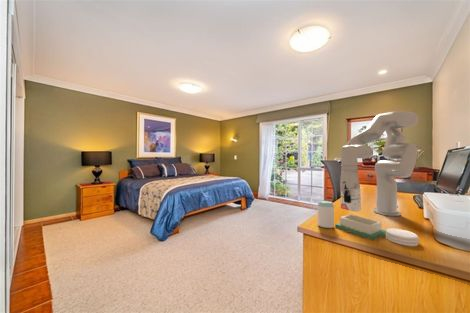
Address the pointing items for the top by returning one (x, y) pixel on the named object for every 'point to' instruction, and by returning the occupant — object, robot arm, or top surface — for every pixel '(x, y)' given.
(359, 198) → the ink cartridge box
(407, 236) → the white short cylinder
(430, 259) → the top surface
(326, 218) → the can
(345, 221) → the green and cream tray
